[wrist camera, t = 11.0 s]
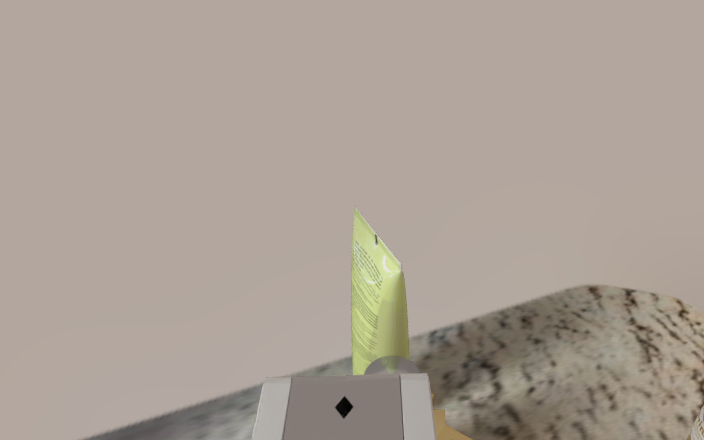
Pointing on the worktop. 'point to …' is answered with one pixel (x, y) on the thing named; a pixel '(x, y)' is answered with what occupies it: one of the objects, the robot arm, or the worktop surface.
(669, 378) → the worktop surface
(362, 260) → the tube
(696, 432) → the sprinkles bottle
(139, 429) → the worktop surface
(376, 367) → the post
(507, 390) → the worktop surface
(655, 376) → the worktop surface
